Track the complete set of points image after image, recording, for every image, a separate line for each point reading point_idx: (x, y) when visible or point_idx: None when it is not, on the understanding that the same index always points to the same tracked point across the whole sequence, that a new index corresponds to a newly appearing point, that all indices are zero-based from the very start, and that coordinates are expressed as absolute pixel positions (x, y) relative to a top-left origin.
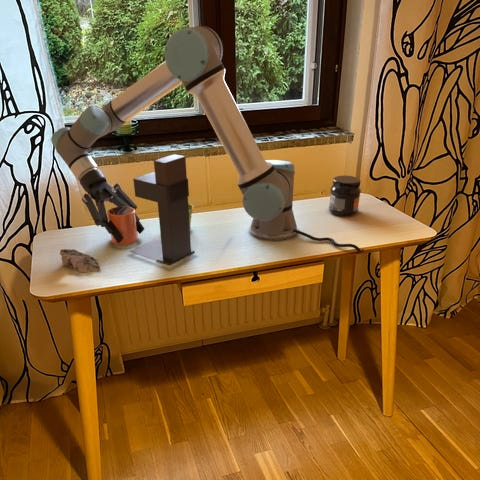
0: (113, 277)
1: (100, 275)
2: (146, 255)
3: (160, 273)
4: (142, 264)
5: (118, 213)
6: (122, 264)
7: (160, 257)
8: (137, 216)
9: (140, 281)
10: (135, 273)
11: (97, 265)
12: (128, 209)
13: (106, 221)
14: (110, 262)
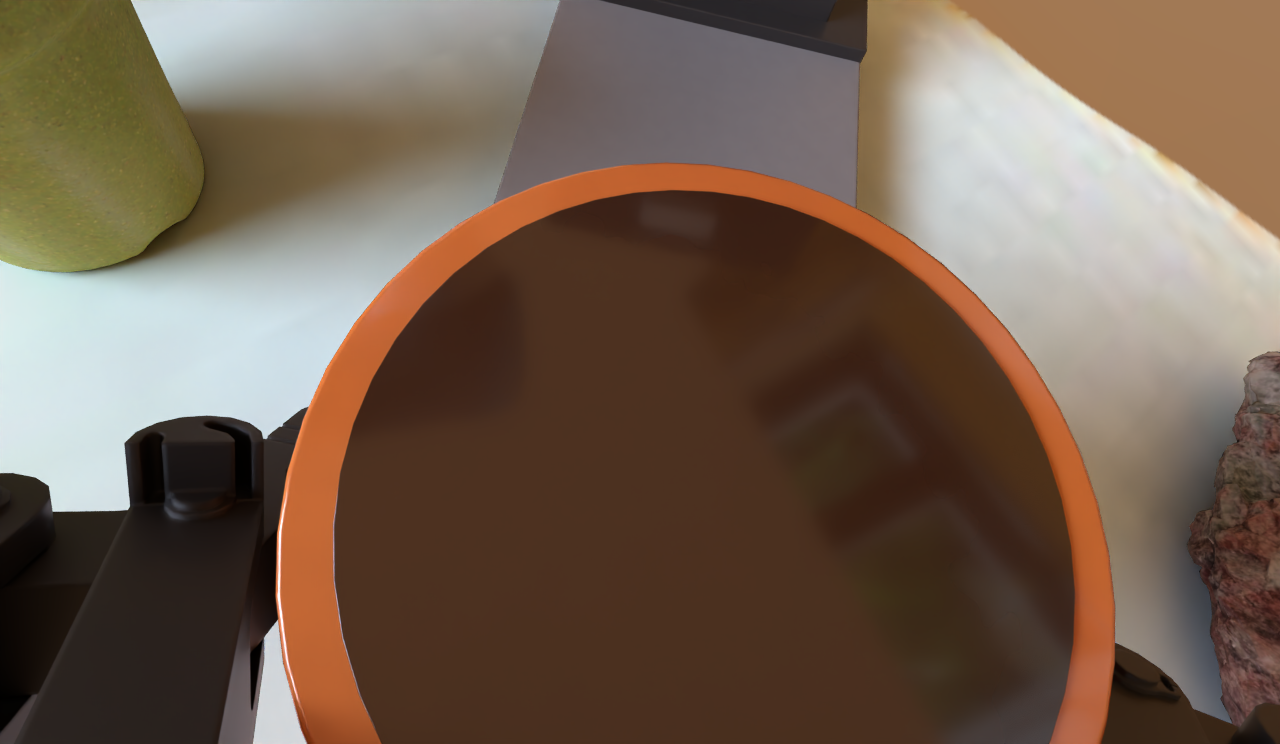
0: (1165, 269)
1: (1221, 371)
2: (831, 163)
3: (914, 41)
4: (889, 190)
5: (923, 426)
6: None
7: (798, 61)
8: (276, 433)
9: (1069, 98)
10: (1020, 169)
11: (1263, 406)
12: (532, 354)
13: (1125, 650)
14: None
